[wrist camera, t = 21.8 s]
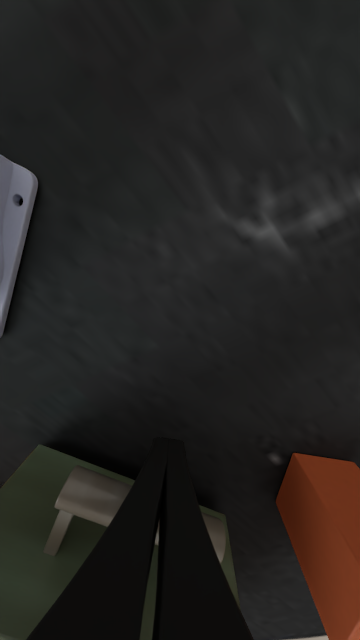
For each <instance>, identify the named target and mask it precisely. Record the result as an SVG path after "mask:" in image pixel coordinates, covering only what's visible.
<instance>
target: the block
mask: <svg viewBox="0 0 360 640" xmlns="http://www.w3.org/2000/svg"><path fill="white" fill-rule="evenodd" d="M276 505H277V507H278V510H279V512H280V515H281V518H282V520H283V523H284V525H285V528H286V530H287V533H288V535H289V538H290V541H291V543H292V546H293V548H294V551H295V553H296V556H297V559H298V561H299V564H300V566H301V569H302V571H303V574H304V577H305V579H306V582H307V584H308V587H309V589H310V592H311V595H312V597H313V600H314V602H315V605H316V607H317V610H318V613H319V615H320V618H321V620H322V623H323V625H324V628H325V631H326V633H327V636H328V638H329V640H360V469H359V468H358V466H357V465H356V464H355V463H354V462H349V461H343V460H337V459H331V458H324V457H318V456H312V455H305V454H299V453H293V454H292V457H291V460H290V462H289V465H288V468H287V471H286V473H285V476H284V479H283V482H282V484H281V487H280V490H279V493H278V495H277V498H276Z"/></svg>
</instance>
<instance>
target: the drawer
mask: <svg viewBox="0 0 360 640" xmlns="http://www.w3.org/2000/svg"><path fill="white" fill-rule="evenodd" d="M134 482H135V480H132V479H130V478H127V477H125V476H122V475H119V474H117V473H114V472H111V471H109V470H106V469H104V468H101V467H98V466H96V465H93V464H90V463H88V462H85V461H83V460H80V459H77V458H75V457H72V456H70V455H67V454H64V453H62V452H59V451H56V450H54V449H51V448H49V447H46V446H43V445H41V444H39V445H38V446H37V447H36V448H35V450H34V451H33V452H32V453H31V454H30V455H29V456H28V458H27V459H26V460H25V461H24V462H23V463H22V464H21V466H20V467H19V468H18V469H17V470H16V471H15V473H14V474H13V475H12V476H11V477H10V478H9V479H8V481H7V482H6V483H5V484H4V485H3V486H2V488H1V489H0V640H26V639H27V637H28V636H29V635H30V634H31V632H32V631H33V630H34V628H35V627H36V626H37V625H38V623H39V622H40V621H41V619H42V618H43V617H44V616H45V614H46V613H47V612H48V610H49V609H50V608H51V606H52V605H53V604H54V603H55V601H56V600H57V599H58V597H59V596H60V595H61V593H62V592H63V591H64V589H65V588H66V586H67V585H68V584H69V582H70V581H71V580H72V578H73V577H74V575H75V574H76V573H77V571H78V570H79V568H80V567H81V566H82V564H83V563H84V561H85V560H86V558H87V557H88V556H89V554H90V553H91V551H92V550H93V548H94V547H95V545H96V544H97V542H98V541H99V539H100V538H101V536H102V535H103V533H104V532H105V530H106V529H107V527H108V526H109V524H110V523H111V521H112V519H113V518H114V516H115V515H116V513H117V511H118V510H119V508H120V506H121V505H122V503H123V501H124V500H125V498H126V496H127V494H128V493H129V491H130V489H131V488H132V486H133V484H134ZM199 507H200V510H201V513H202V516H203V519H204V522H205V525H206V527H207V530H208V533H209V536H210V538H211V541H212V544H213V546H214V549H215V552H216V554H217V557H218V559H219V562H220V564H221V567H222V569H223V572H224V574H225V576H226V579H227V581H228V583H229V586H230V588H231V591H232V593H233V595H234V598H235V600H236V602H237V604H238V607H239V609H240V604H239V597H238V591H237V585H236V579H235V572H234V566H233V560H232V554H231V547H230V541H229V535H228V529H227V523H226V516H225V515H224V514H222V513H219V512H216V511H214V510H211V509H208V508H206V507H203V506H201V505H199ZM159 520H160V518H159ZM158 541H159V523H158V529H157V534H156V540H155V545H154V551H153V556H152V562H151V567H150V573H149V578H148V584H147V590H146V596H145V603H144V609H143V617H142V625H141V632H140V640H152V633H153V622H154V612H155V599H156V584H157V563H158ZM240 611H241V610H240Z"/></svg>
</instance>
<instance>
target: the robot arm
mask: <svg viewBox="0 0 360 640" xmlns="http://www.w3.org/2000/svg"><path fill="white" fill-rule="evenodd" d="M37 189H38V180H37V178H36V176H35V175H34V174H33V173H32V172H30V171H29V170H27V169H26V168H24V167H22V166H19V165H17V164H15V163H13V162H12V161H10V160H8V159H7V158H5V157H4V156H2V155H1V154H0V338H1V337H2V335H3V331H4V327H5V323H6V319H7V315H8V310H9V306H10V302H11V298H12V294H13V289H14V285H15V281H16V277H17V273H18V268H19V264H20V260H21V256H22V252H23V248H24V243H25V239H26V235H27V231H28V227H29V222H30V218H31V214H32V210H33V206H34V201H35V197H36V193H37ZM21 198H22V199H23V204H22V205H21V206H20V204H19V201H20V199H21ZM159 518H160V520H159ZM158 523H159V541H158V563H157V584H156V599H155V612H154V622H153V633H152V640H254V639H253V637H252V635H251V633H250V630H249V628H248V626H247V624H246V622H245V620H244V617H243V615H242V613H241V611H240V609H239V607H238V604H237V602H236V600H235V598H234V595H233V593H232V591H231V588H230V586H229V583H228V581H227V579H226V576H225V574H224V572H223V569H222V567H221V564H220V562H219V559H218V557H217V554H216V552H215V549H214V546H213V544H212V541H211V538H210V536H209V533H208V530H207V527H206V525H205V522H204V519H203V516H202V513H201V510H200V507H199V504H198V501H197V497H196V494H195V490H194V487H193V484H192V480H191V476H190V472H189V468H188V464H187V459H186V454H185V447H184V442H183V441H182V440H175V439H167V438H160V437H156V438H154V440H153V443H152V446H151V449H150V451H149V454H148V456H147V458H146V460H145V462H144V464H143V467H142V469H141V470H140V472H139V474H138V476H137V478H136V480H135V482H134V484H133V486H132V488H131V489H130V491H129V493H128V494H127V496H126V498H125V500H124V501H123V503H122V505H121V506H120V508H119V510H118V511H117V513H116V515H115V516H114V518H113V519H112V521H111V523H110V524H109V526H108V527H107V529H106V530H105V532H104V533H103V535H102V536H101V538H100V539H99V541H98V542H97V544H96V545H95V547H94V548H93V550H92V551H91V553H90V554H89V556H88V557H87V558H86V560H85V561H84V563H83V564H82V566H81V567H80V568H79V570H78V571H77V573H76V574H75V575H74V577H73V578H72V580H71V581H70V582H69V584H68V585H67V586H66V588H65V589H64V591H63V592H62V593H61V595H60V596H59V597H58V599H57V600H56V601H55V603H54V604H53V605H52V606H51V608H50V609H49V610H48V612H47V613H46V614H45V616H44V617H43V618H42V619H41V621H40V622H39V623H38V625H37V626H36V627H35V628H34V630H33V631H32V632H31V634H30V635H29V636H28V637H27V639H26V640H140V632H141V625H142V617H143V609H144V603H145V596H146V590H147V584H148V578H149V573H150V567H151V562H152V556H153V551H154V545H155V540H156V534H157V529H158Z"/></svg>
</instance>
